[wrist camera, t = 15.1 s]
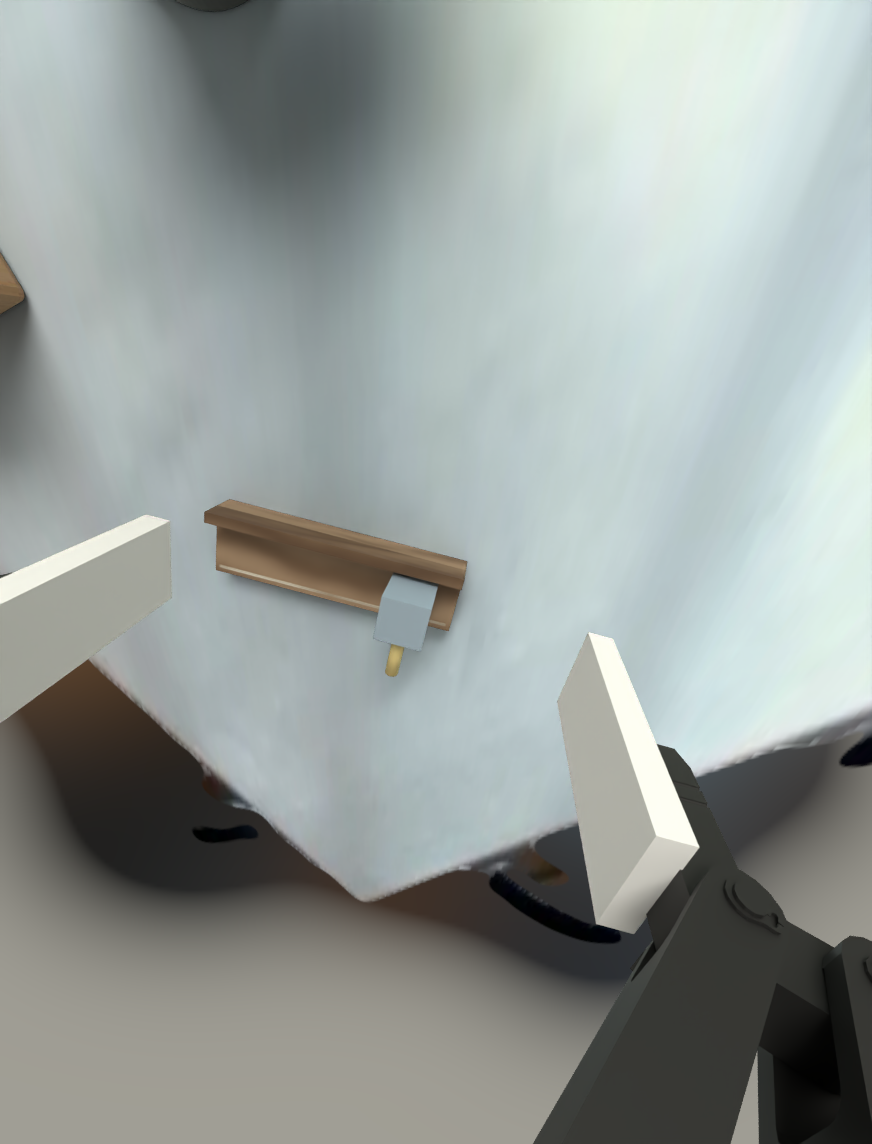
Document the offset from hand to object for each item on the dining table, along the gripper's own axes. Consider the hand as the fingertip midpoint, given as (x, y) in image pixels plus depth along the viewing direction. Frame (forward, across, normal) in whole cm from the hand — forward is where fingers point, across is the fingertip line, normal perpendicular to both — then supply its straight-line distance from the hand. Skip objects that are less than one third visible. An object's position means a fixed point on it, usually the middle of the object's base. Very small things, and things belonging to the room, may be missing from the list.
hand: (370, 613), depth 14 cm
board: (+36, -10, -17) cm, 41 cm away
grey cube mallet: (+34, -1, -20) cm, 39 cm away
